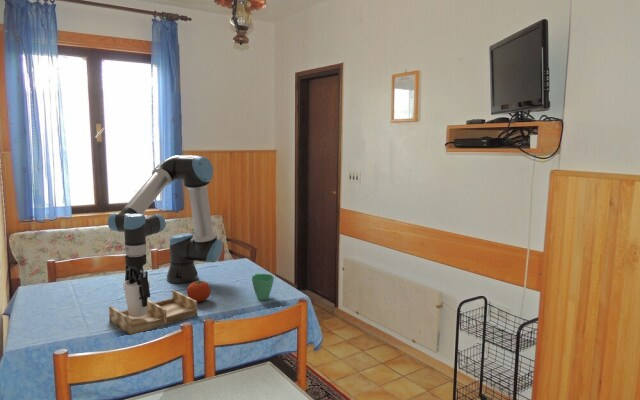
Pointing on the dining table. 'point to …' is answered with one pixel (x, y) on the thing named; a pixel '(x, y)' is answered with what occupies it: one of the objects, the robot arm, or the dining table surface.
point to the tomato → (198, 291)
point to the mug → (262, 285)
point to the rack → (155, 314)
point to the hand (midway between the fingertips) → (137, 310)
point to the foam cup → (133, 298)
